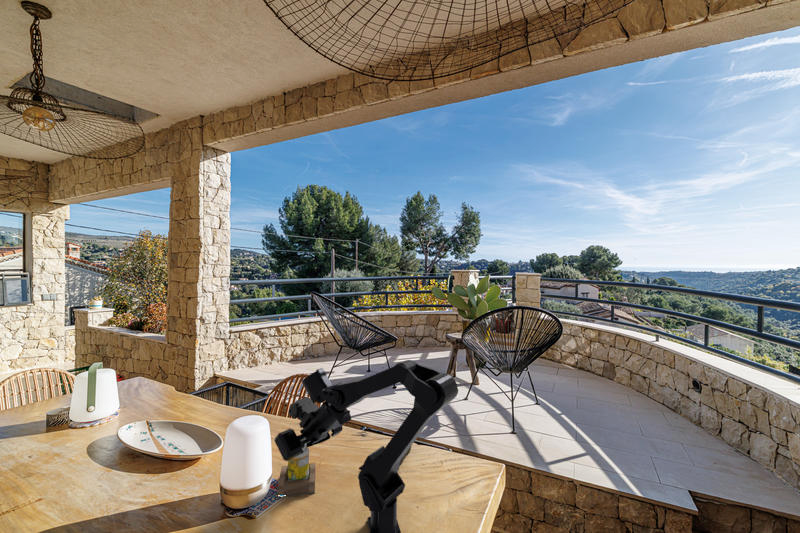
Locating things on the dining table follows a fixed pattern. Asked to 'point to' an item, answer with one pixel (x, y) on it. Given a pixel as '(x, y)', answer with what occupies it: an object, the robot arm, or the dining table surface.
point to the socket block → (296, 483)
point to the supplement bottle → (299, 466)
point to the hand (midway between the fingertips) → (295, 450)
